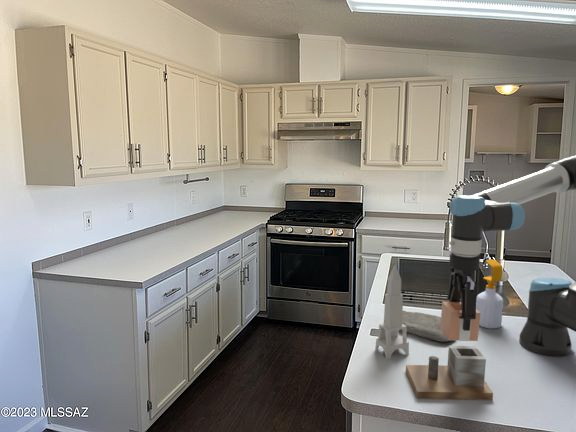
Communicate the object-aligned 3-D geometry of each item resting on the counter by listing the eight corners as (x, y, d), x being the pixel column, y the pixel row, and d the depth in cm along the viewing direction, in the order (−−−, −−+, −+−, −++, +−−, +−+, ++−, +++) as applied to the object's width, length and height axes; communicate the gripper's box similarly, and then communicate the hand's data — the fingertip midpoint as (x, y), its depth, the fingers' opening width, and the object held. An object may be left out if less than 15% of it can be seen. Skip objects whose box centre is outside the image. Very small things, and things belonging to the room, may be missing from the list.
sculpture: (375, 349, 146) (377, 262, 140) (396, 345, 149) (399, 259, 143) (386, 358, 139) (389, 268, 134) (408, 354, 142) (412, 265, 137)
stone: (463, 321, 158) (450, 336, 146) (462, 332, 159) (449, 348, 147) (396, 305, 173) (379, 317, 161) (395, 315, 174) (379, 328, 162)
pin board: (473, 372, 131) (475, 341, 129) (492, 399, 117) (495, 365, 116) (405, 370, 132) (407, 340, 130) (417, 398, 118) (418, 364, 117)
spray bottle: (489, 317, 170) (494, 256, 166) (506, 327, 161) (512, 263, 157) (469, 320, 168) (474, 258, 163) (486, 330, 159) (491, 265, 155)
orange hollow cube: (467, 328, 125) (469, 302, 123) (477, 341, 117) (480, 312, 116) (440, 328, 125) (442, 301, 124) (448, 340, 118) (451, 312, 116)
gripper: (439, 244, 127) (434, 318, 131) (464, 264, 107) (457, 350, 111) (465, 244, 127) (459, 318, 131) (495, 264, 107) (487, 351, 111)
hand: (458, 333), depth 121 cm, fingers closed on orange hollow cube, 8 cm apart
